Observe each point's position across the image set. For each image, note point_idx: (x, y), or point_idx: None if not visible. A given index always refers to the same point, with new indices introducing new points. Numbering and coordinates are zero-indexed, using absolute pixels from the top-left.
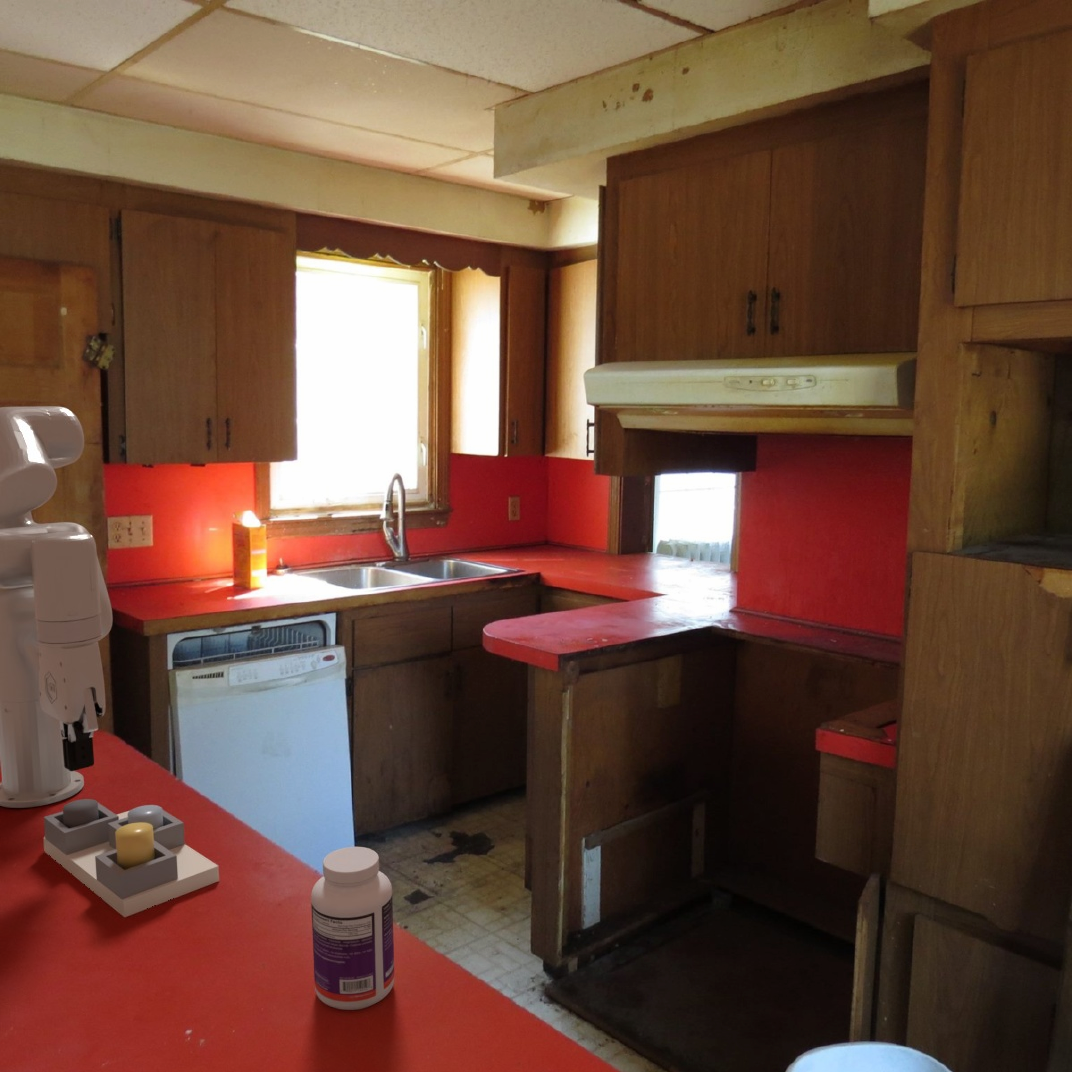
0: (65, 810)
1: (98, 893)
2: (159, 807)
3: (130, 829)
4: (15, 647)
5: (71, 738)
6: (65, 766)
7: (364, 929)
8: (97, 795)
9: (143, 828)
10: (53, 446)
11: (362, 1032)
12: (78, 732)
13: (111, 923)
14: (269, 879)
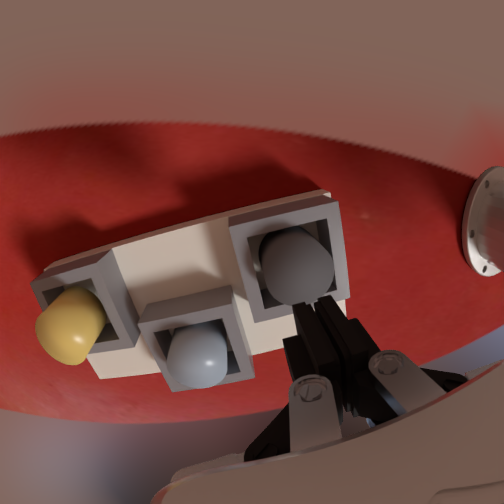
0: (291, 244)
1: (114, 243)
2: (204, 386)
3: (63, 336)
4: None
5: (298, 394)
6: (321, 298)
7: None
8: (449, 284)
9: (61, 352)
10: None
11: None
12: (268, 438)
13: (47, 245)
14: (96, 398)
